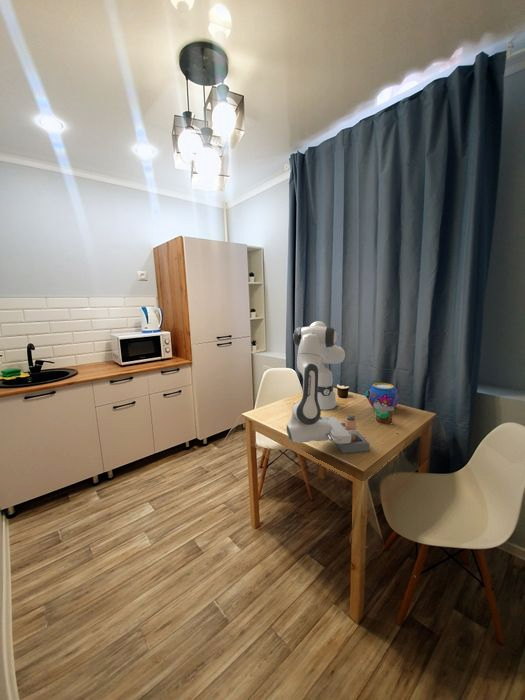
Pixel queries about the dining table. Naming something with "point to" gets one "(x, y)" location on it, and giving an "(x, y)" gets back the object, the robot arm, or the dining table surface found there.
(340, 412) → the dining table surface
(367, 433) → the dining table surface
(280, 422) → the dining table surface
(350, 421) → the spice jar
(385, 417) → the food container
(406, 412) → the dining table surface
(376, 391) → the ceramic pot
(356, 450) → the holder
